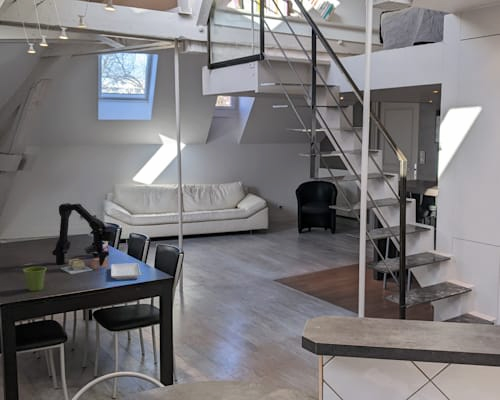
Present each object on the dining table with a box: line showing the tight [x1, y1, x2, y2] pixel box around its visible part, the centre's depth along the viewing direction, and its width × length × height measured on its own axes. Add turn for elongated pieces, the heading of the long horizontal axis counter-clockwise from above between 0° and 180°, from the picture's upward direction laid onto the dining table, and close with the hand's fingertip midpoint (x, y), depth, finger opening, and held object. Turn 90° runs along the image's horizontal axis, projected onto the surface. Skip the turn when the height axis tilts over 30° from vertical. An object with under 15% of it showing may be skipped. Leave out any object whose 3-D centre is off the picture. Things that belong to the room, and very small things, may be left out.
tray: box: [110, 262, 142, 281], centre depth 331 cm, size 17×31×4 cm, turn 14°
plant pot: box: [22, 266, 48, 292], centre depth 298 cm, size 12×12×11 cm
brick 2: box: [88, 257, 109, 270], centre depth 349 cm, size 10×6×5 cm, turn 128°
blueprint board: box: [60, 265, 94, 275], centre depth 342 cm, size 16×14×1 cm
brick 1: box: [68, 257, 86, 271], centre depth 341 cm, size 10×6×5 cm, turn 38°
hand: (98, 265), depth 350 cm, fingers closed on brick 2, 6 cm apart
